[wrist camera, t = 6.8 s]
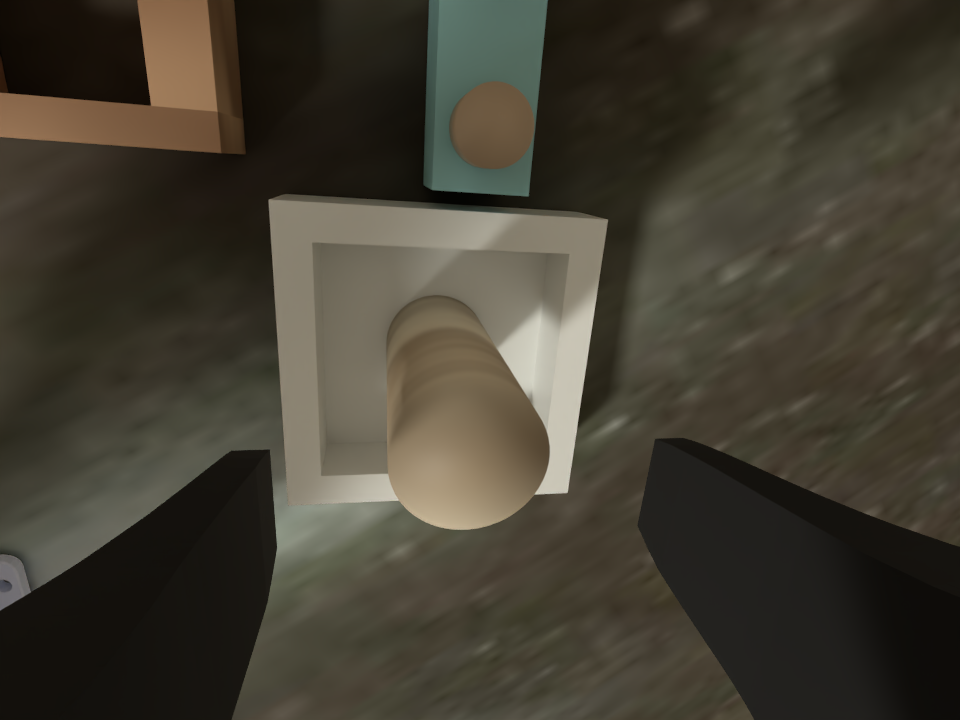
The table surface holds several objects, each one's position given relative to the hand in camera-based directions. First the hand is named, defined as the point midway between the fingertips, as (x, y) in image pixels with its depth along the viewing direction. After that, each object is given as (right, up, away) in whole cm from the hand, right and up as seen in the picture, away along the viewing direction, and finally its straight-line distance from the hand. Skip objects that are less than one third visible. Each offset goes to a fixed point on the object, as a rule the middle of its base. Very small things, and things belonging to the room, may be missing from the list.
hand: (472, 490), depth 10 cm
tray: (-1, +3, +8) cm, 9 cm away
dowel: (-1, +3, +7) cm, 8 cm away
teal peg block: (0, +11, +5) cm, 12 cm away
